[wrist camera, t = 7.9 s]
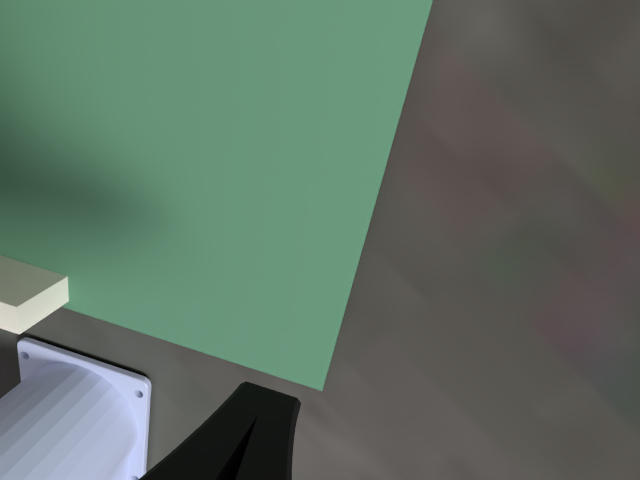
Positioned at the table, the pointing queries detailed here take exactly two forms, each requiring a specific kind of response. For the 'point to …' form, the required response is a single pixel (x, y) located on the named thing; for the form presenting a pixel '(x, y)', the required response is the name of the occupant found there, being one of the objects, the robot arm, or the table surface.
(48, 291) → the white angular frame
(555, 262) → the table surface
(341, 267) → the green mat
